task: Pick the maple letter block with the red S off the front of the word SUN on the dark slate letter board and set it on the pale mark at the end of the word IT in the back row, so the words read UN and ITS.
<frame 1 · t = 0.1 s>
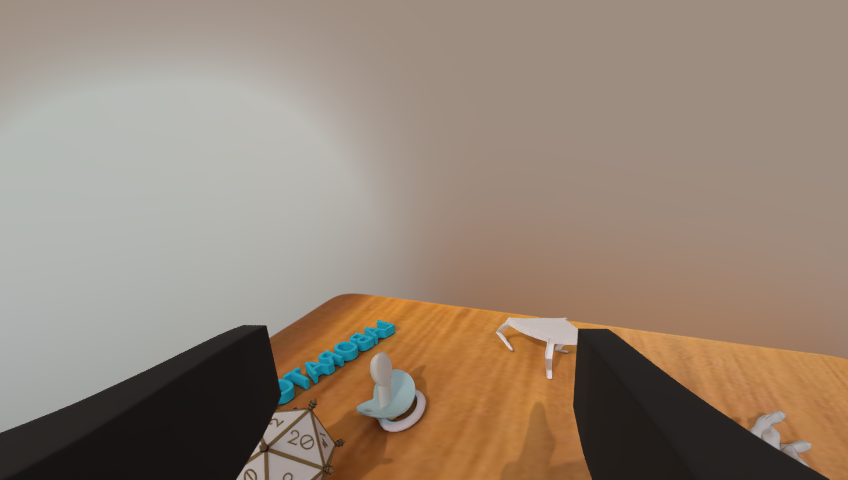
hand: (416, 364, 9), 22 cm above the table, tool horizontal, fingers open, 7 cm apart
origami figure: (543, 363, 48), on the table
pacifier: (395, 413, 41), on the table
text ornament: (240, 423, 40), on the table
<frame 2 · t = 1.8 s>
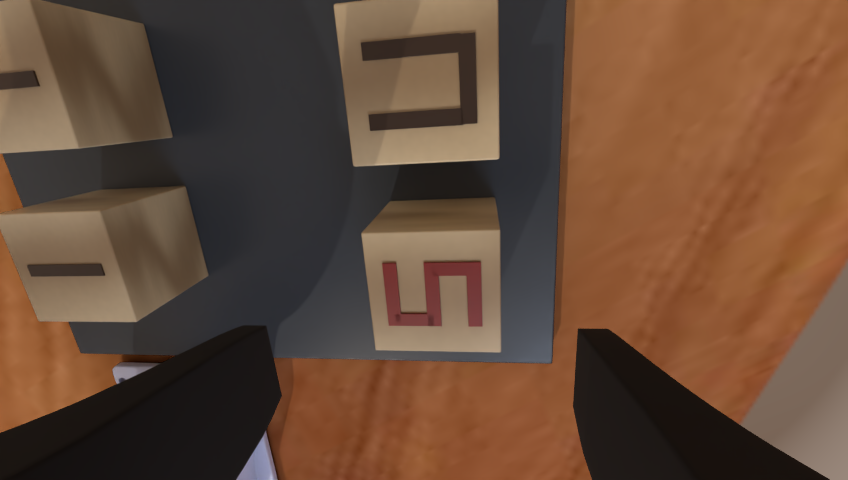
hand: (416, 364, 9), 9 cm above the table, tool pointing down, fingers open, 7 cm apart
s block: (444, 248, 17), point 1 cm above the table, touching letter board
letter board: (261, 120, 17), on the table
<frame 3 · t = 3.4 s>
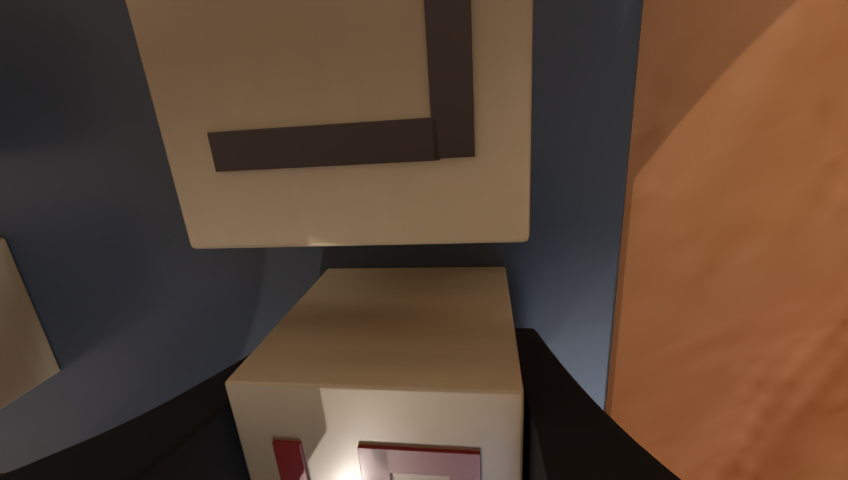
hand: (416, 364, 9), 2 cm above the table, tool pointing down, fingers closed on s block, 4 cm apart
s block: (419, 344, 10), point 1 cm above the table, touching gripper, letter board
letter board: (122, 132, 10), on the table
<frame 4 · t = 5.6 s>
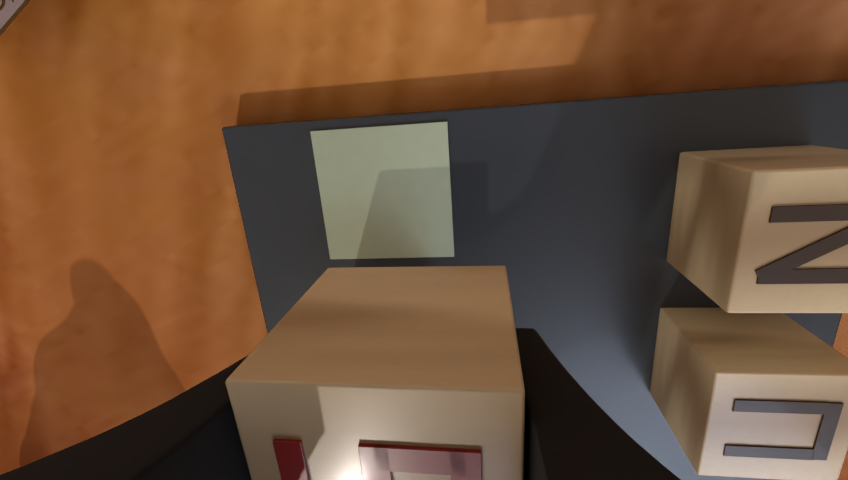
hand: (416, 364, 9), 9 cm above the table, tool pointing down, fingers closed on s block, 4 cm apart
s block: (420, 343, 10), point 8 cm above the table, touching gripper
letter board: (520, 350, 19), on the table
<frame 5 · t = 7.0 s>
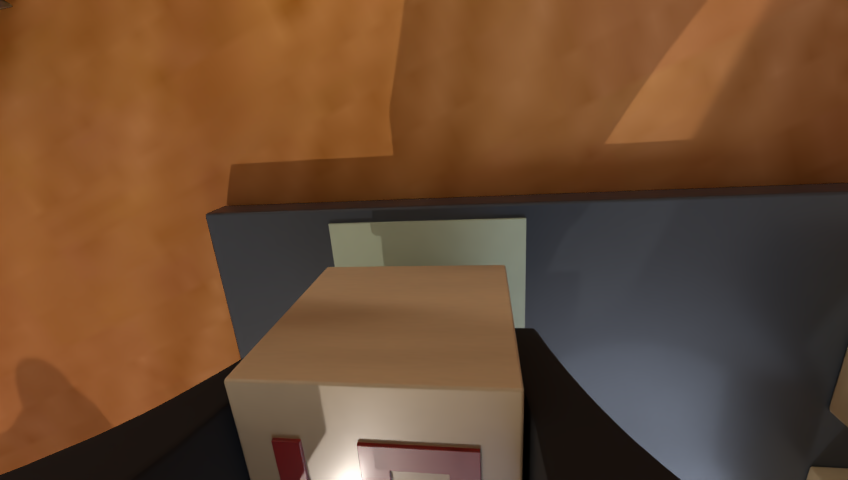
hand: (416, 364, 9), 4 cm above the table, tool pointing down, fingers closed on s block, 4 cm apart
s block: (419, 343, 10), point 3 cm above the table, touching gripper
when the fingers open (2 cm above the table, at t = 8.0 s): s block stays where it is, resting on letter board.
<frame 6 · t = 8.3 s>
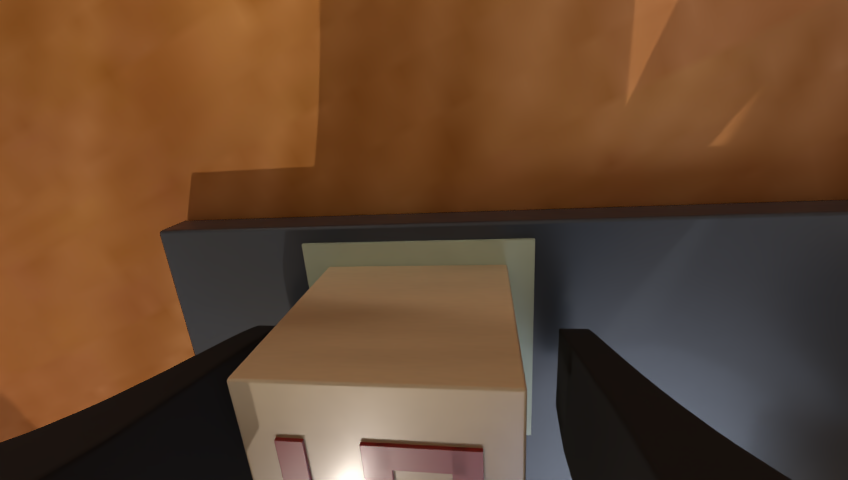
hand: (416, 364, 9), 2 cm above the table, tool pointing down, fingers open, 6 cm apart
s block: (421, 343, 10), point 1 cm above the table, touching letter board
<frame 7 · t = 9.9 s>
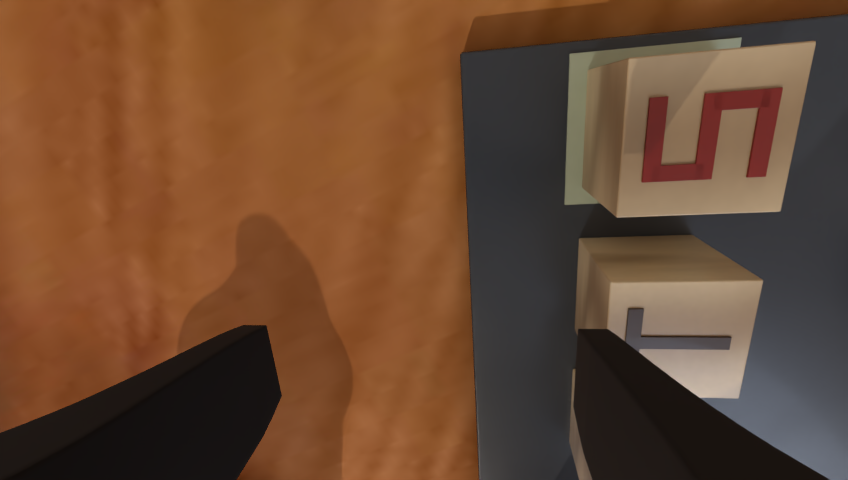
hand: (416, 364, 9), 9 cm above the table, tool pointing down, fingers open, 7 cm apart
s block: (645, 127, 14), point 1 cm above the table, touching letter board
letter board: (755, 309, 17), on the table
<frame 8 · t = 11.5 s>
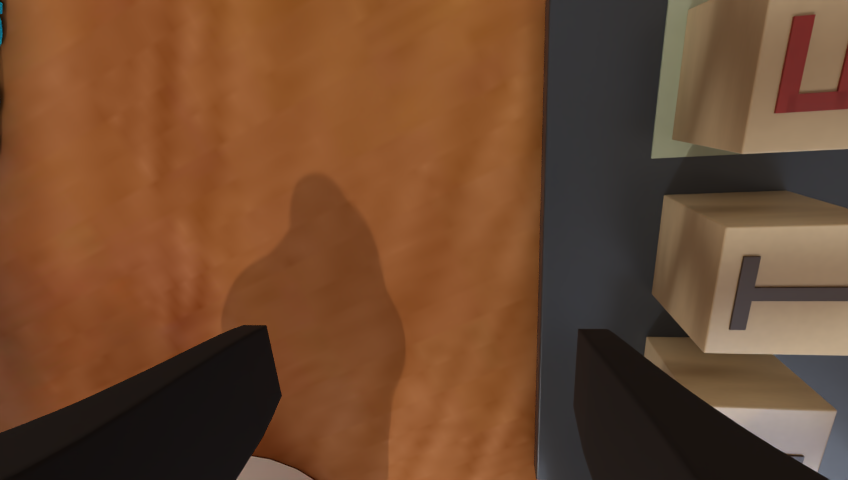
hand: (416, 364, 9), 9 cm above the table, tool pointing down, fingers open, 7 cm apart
s block: (746, 72, 14), point 1 cm above the table, touching letter board
letter board: (842, 273, 16), on the table
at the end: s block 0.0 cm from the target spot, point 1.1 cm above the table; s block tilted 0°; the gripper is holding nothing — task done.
